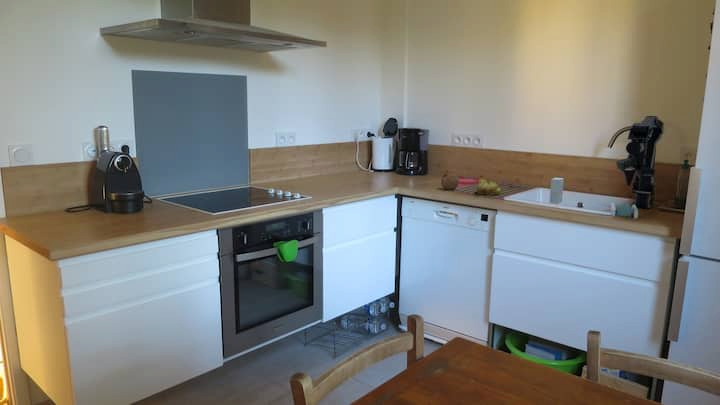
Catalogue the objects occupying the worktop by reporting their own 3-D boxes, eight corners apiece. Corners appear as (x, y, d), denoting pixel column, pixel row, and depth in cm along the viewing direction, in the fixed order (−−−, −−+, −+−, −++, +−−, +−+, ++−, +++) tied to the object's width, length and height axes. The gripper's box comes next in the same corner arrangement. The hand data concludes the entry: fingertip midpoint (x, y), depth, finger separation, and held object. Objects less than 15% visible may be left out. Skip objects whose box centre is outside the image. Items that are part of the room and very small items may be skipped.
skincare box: (553, 201, 256) (555, 177, 254) (562, 202, 254) (564, 178, 251) (548, 203, 252) (551, 178, 249) (557, 204, 249) (560, 179, 247)
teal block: (616, 212, 233) (617, 204, 232) (629, 213, 231) (630, 205, 230) (617, 215, 227) (618, 206, 226) (631, 217, 225) (632, 208, 224)
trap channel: (610, 209, 239) (611, 202, 238) (634, 211, 235) (635, 204, 235) (611, 216, 225) (612, 209, 225) (637, 218, 222) (638, 211, 221)
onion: (443, 195, 284) (435, 179, 282) (448, 188, 292) (441, 172, 289) (458, 191, 279) (451, 174, 276) (463, 184, 286) (456, 167, 284)
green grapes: (502, 194, 274) (503, 179, 272) (497, 197, 266) (498, 181, 264) (478, 191, 280) (479, 177, 278) (473, 194, 272) (474, 179, 270)
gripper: (609, 150, 234) (605, 184, 237) (632, 155, 215) (628, 192, 219) (633, 149, 234) (629, 183, 238) (658, 155, 216) (654, 191, 219)
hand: (634, 187), depth 228 cm, fingers open, 9 cm apart
